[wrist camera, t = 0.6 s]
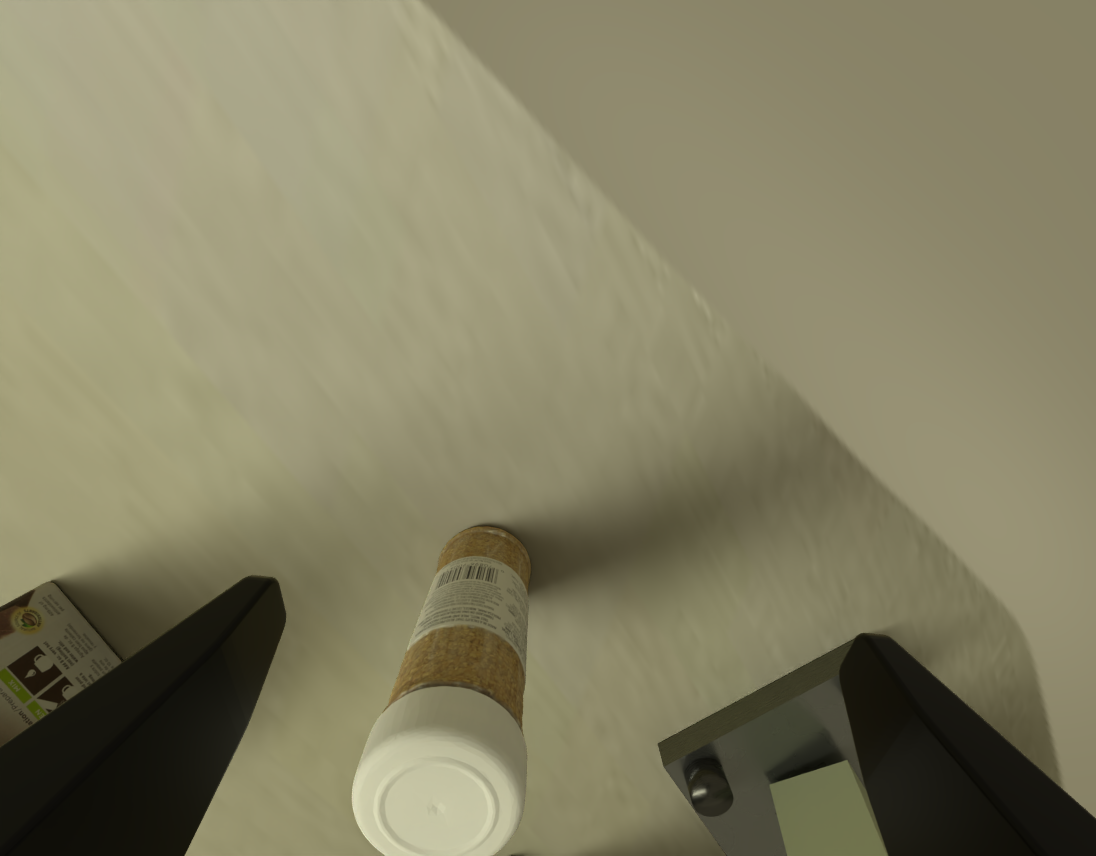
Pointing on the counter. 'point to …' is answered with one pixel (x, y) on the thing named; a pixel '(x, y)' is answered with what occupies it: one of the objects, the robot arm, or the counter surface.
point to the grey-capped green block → (827, 814)
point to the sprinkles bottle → (455, 712)
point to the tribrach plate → (761, 754)
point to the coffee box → (45, 657)
